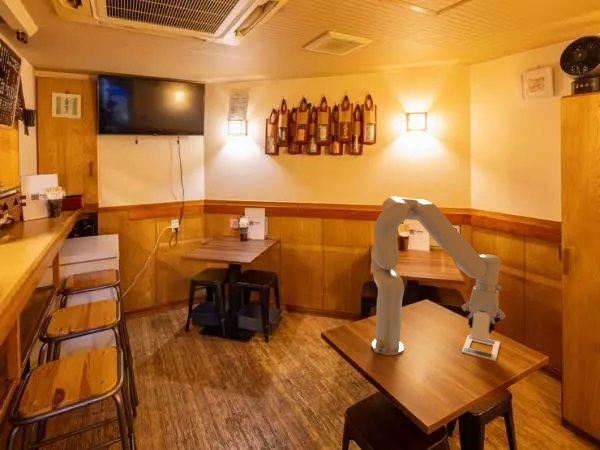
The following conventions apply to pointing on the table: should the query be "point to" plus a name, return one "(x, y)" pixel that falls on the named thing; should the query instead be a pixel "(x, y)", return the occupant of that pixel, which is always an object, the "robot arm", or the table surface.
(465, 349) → the label board
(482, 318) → the can
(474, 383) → the table surface
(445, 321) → the table surface
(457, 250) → the robot arm
